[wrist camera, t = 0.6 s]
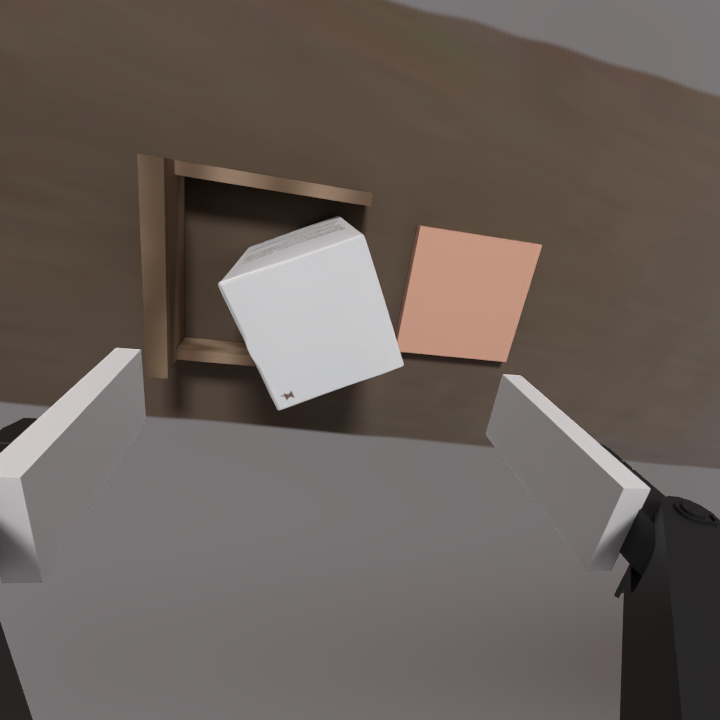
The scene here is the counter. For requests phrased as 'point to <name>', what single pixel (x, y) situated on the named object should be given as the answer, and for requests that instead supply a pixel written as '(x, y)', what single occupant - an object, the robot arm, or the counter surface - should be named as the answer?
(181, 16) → the counter surface
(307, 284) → the supplement box
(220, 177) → the wooden u-shaped frame
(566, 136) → the counter surface
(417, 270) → the terracotta tile
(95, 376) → the robot arm
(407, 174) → the counter surface
